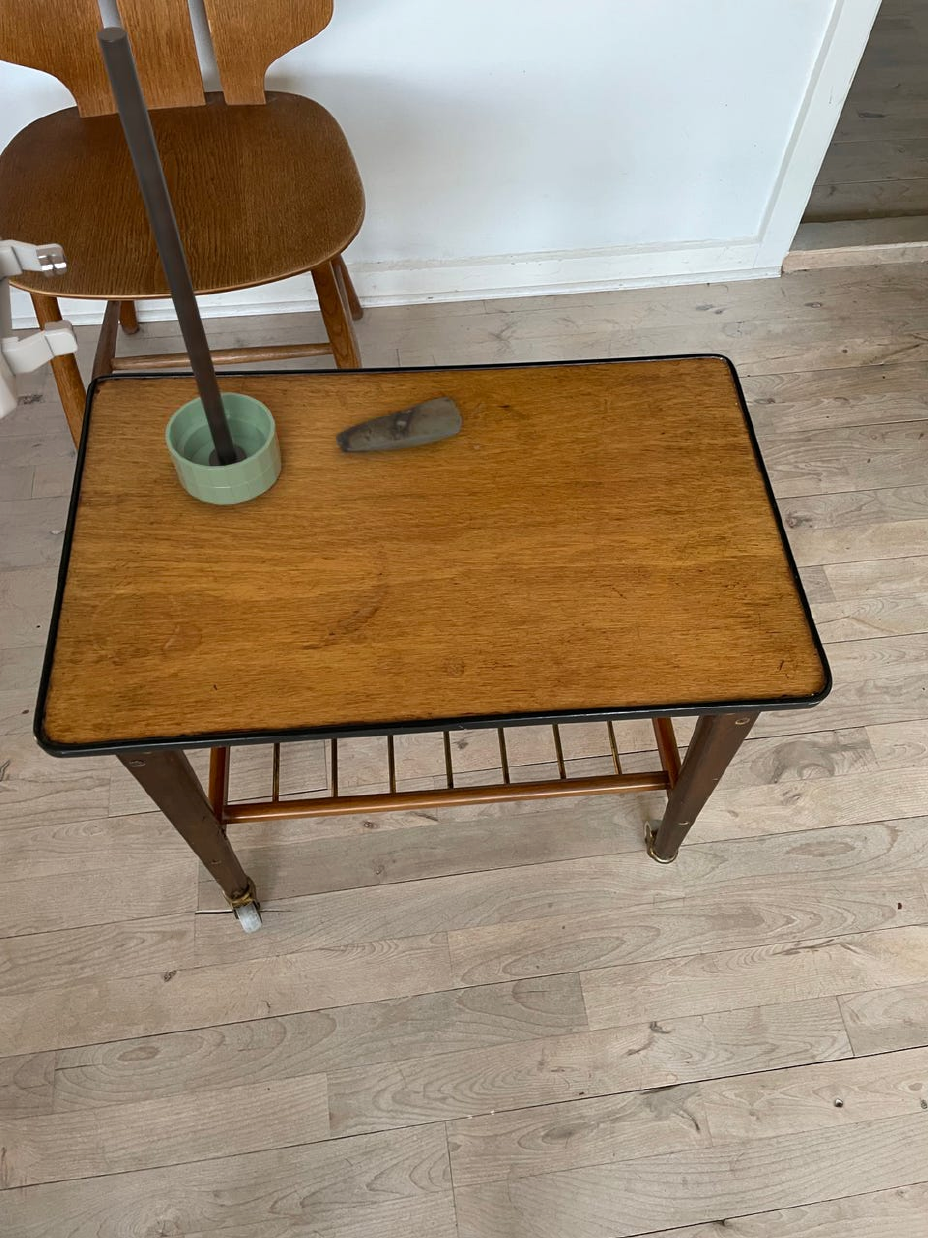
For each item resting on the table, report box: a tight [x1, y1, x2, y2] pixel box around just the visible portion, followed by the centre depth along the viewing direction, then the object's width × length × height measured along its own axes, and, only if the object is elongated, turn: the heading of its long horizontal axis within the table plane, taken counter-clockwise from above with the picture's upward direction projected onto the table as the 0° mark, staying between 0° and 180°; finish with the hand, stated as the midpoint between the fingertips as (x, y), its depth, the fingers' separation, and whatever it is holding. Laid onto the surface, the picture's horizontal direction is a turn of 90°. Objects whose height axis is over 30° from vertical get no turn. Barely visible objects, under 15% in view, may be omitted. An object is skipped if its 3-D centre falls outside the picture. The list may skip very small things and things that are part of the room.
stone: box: [335, 396, 463, 454], centre depth 86 cm, size 13×5×2 cm, turn 112°
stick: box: [96, 26, 247, 466], centre depth 68 cm, size 4×4×38 cm
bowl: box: [164, 391, 283, 506], centre depth 82 cm, size 10×10×6 cm
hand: (69, 295), depth 64 cm, fingers open, 8 cm apart
